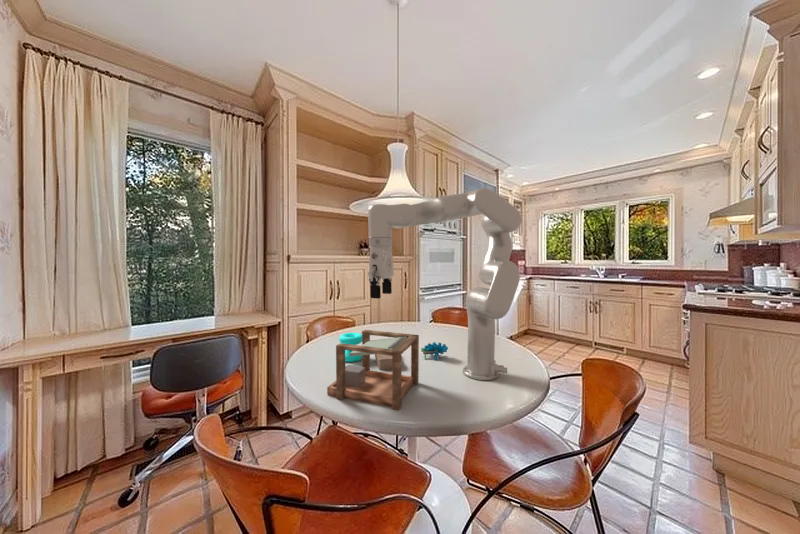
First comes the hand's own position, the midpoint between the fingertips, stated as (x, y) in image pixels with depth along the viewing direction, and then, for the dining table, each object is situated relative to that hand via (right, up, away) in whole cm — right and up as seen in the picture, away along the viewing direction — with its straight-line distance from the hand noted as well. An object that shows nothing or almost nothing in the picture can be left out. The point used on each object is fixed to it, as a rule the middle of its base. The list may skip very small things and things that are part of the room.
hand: (381, 295), depth 103 cm
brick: (+1, -29, +24) cm, 38 cm away
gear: (+20, -29, +29) cm, 46 cm away
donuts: (-14, -29, +28) cm, 43 cm away
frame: (-2, -30, -1) cm, 30 cm away
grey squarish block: (-6, -27, +1) cm, 28 cm away
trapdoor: (0, -16, -2) cm, 17 cm away
